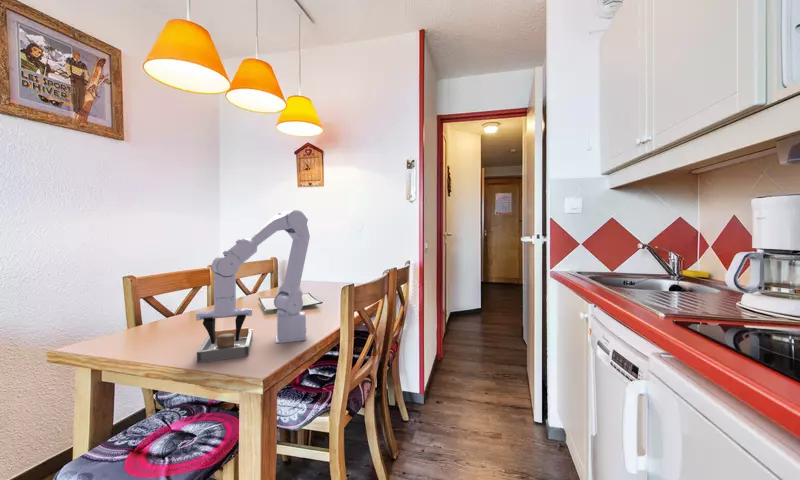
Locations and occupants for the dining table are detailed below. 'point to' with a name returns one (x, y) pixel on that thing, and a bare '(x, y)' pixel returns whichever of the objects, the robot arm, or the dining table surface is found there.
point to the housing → (224, 349)
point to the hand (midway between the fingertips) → (225, 341)
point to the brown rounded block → (225, 341)
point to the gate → (233, 332)
